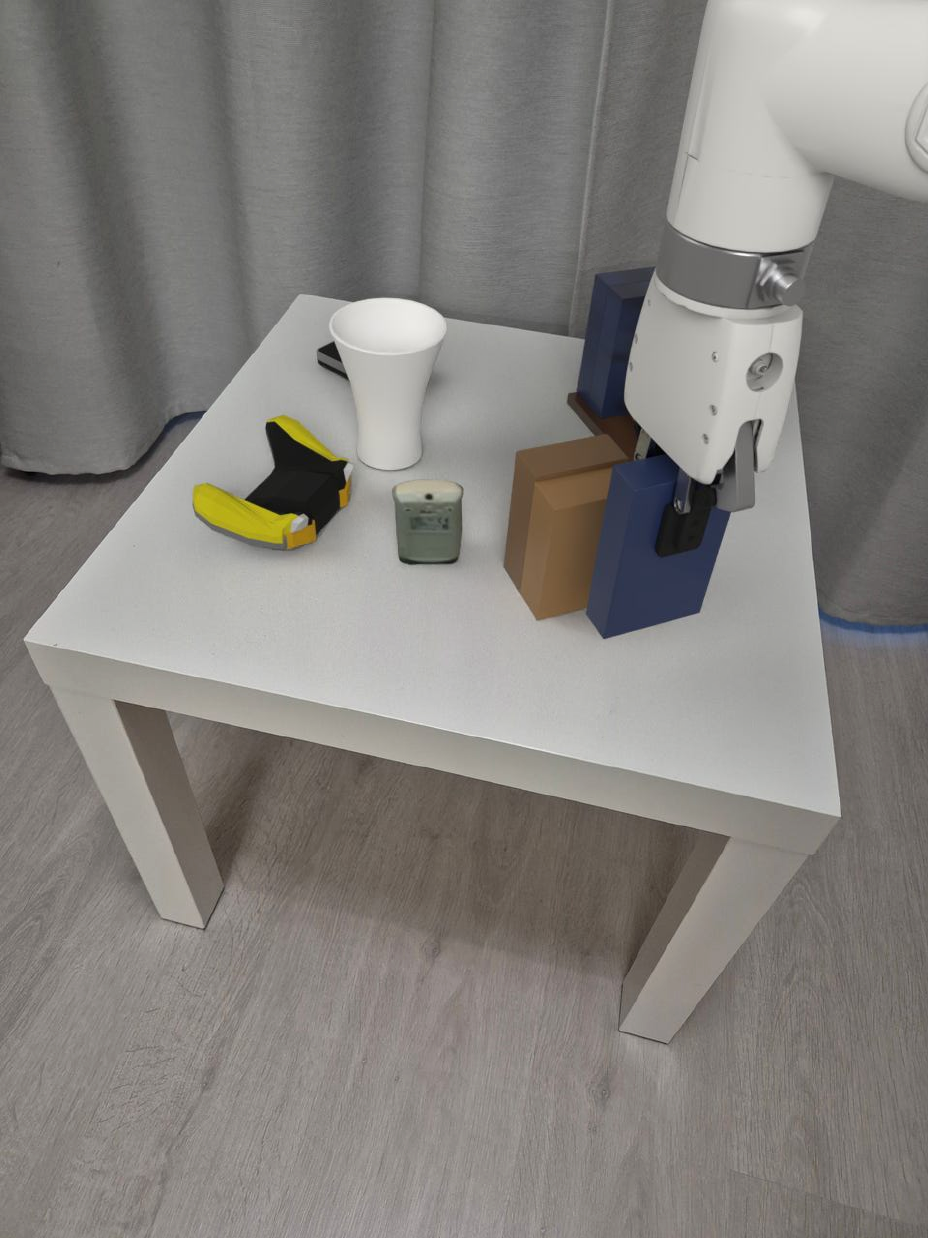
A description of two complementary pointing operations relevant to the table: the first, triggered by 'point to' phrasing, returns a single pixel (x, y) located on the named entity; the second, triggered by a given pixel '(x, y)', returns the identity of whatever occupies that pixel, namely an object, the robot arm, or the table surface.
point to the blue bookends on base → (610, 355)
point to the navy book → (647, 553)
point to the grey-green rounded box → (428, 521)
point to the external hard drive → (331, 359)
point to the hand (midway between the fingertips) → (663, 532)
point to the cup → (388, 373)
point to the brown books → (558, 521)
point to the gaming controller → (281, 493)
